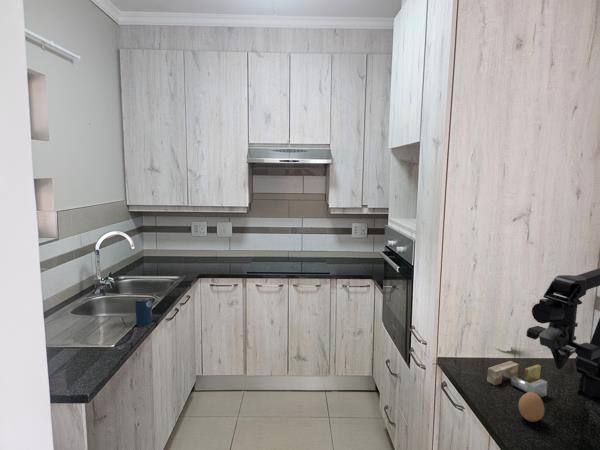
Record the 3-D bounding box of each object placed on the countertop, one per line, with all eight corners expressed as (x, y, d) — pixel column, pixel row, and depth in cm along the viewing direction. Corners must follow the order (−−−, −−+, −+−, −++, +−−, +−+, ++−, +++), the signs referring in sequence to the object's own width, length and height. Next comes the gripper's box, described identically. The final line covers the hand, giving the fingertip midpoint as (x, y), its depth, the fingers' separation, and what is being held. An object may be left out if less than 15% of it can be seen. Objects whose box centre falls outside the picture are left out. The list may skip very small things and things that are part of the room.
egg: (520, 424, 114) (523, 397, 113) (515, 411, 120) (517, 385, 119) (546, 428, 112) (549, 401, 111) (539, 415, 119) (541, 389, 118)
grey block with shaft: (546, 395, 130) (547, 381, 129) (532, 400, 126) (534, 387, 126) (519, 382, 138) (520, 369, 137) (506, 387, 134) (507, 374, 134)
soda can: (155, 324, 184) (154, 298, 183) (141, 328, 179) (140, 302, 177) (147, 320, 188) (146, 295, 187) (133, 324, 183) (132, 298, 182)
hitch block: (517, 377, 141) (518, 364, 140) (494, 385, 135) (495, 371, 135) (509, 373, 144) (510, 360, 143) (486, 381, 138) (488, 367, 137)
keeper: (539, 379, 140) (540, 365, 139) (526, 384, 136) (528, 370, 136) (536, 377, 141) (537, 364, 140) (523, 382, 137) (524, 368, 137)
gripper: (517, 313, 125) (513, 361, 127) (583, 334, 108) (576, 389, 110) (539, 308, 130) (535, 354, 132) (605, 328, 114) (598, 380, 116)
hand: (558, 368), depth 122 cm, fingers closed
